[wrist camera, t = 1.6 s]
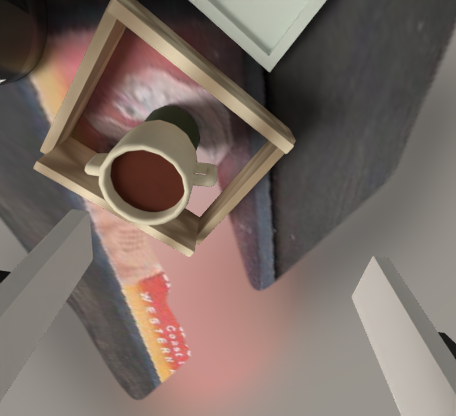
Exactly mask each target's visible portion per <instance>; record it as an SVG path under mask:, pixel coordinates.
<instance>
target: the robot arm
mask: <svg viewBox="0 0 456 416" xmlns="http://www.w3.org/2000/svg"><path fill="white" fill-rule="evenodd" d="M46 37H47V13H46V7H45V1H44V0H0V85H4V84H7V83H10V82H13V81H16V80H18V79H20V78H22V77H24V76H25V75H27V74H28V73H29V72H30V71H31V70H32V69H33V68H34V67H35V65H36V64H37V63H38V61H39V59H40V57H41V55H42V53H43V50H44V47H45V43H46ZM92 260H93V253H92V241H91V229H90V217H89V212H88V211H81V210H75V209H71V210H70V211H69V212H68V213H67V214H66V215H65V217H64V218H63V219H62V220H61V221H60V222H59V223H58V224H57V225H56V226H55V227H54V228H53V229H52V230H51V231H50V232H49V233H48V234H47V235H46V236H45V237H44V238H43V240H42V241H41V242H40V243H39V244H38V245H37V246H36V247H35V248H34V249H33V250H32V251H31V252H30V253H29V254H28V255H27V256H26V257H25V258H24V259H23V261H22V262H21V263H20V264H19V265H18V266H17V267H16V268H15V269H14V270H13V271H12V272H7V271H0V401H1V400H2V398H3V397H4V395H5V394H6V392H7V391H8V389H9V387H10V386H11V384H12V383H13V381H14V380H15V378H16V377H17V375H18V374H19V372H20V371H21V369H22V367H23V366H24V365H25V363H26V361H27V360H28V358H29V357H30V355H31V354H32V352H33V350H34V349H35V348H36V346H37V344H38V343H39V341H40V340H41V338H42V337H43V335H44V334H45V332H46V331H47V329H48V328H49V326H50V324H51V323H52V321H53V320H54V318H55V317H56V315H57V314H58V312H59V311H60V309H61V308H62V306H63V304H64V303H65V302H66V300H67V298H68V297H69V295H70V294H71V292H72V291H73V289H74V288H75V286H76V285H77V283H78V282H79V280H80V278H81V277H82V275H83V274H84V272H85V271H86V269H87V268H88V266H89V265H90V263H91V262H92ZM352 299H353V302H354V304H355V307H356V309H357V311H358V314H359V316H360V318H361V321H362V323H363V326H364V328H365V330H366V333H367V335H368V338H369V340H370V342H371V345H372V347H373V349H374V352H375V354H376V357H377V359H378V361H379V364H380V366H381V369H382V371H383V373H384V376H385V378H386V381H387V383H388V385H389V388H390V390H391V392H392V395H393V397H394V400H395V402H396V404H397V407H398V409H399V412H400V414H401V416H456V343H455V342H453V341H452V340H451V339H450V338H449V337H448V336H447V335H446V334H445V333H440V332H437V331H436V329H435V328H434V326H433V324H432V323H431V321H430V320H429V318H428V317H427V315H426V314H425V312H424V311H423V309H422V308H421V306H420V305H419V303H418V302H417V300H416V299H415V297H414V295H413V294H412V293H411V291H410V290H409V288H408V286H407V285H406V283H405V282H404V280H403V279H402V277H401V276H400V274H399V273H398V271H397V270H396V268H395V267H394V265H393V263H392V262H391V261H390V259H389V258H385V257H379V256H373V257H372V259H371V261H370V263H369V265H368V266H367V268H366V270H365V272H364V274H363V276H362V278H361V280H360V282H359V284H358V286H357V288H356V290H355V292H354V294H353V295H352Z"/></svg>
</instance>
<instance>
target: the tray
mask: <svg viewBox="0 0 456 416" xmlns="http://www.w3.org/2000/svg"><path fill="white" fill-rule="evenodd" d="M189 1H190V2H191V3H192V4H194V5H195V6H196V7H197V8H198V9H199V10H200V11H201V12H202V13H204V14H205V15H206V16H207V17H208V18H209V19H210V20H211V21H212V22H214V23H215V24H216V25H217V26H218V27H219V28H220V29H221V30H223V31H224V32H225V33H226V34H227V35H228V36H229V37H230V38H231V39H233V40H234V41H235V42H236V43H237V44H238V45H239V46H240V47H241V48H243V49H244V50H245V51H246V52H247V53H248V54H249V55H250V56H252V57H253V58H254V59H255V60H256V61H257V62H258V63H259V64H260V65H262V66H263V67H264V68H265V69H266V70H267V71H268V72H269V73H270V71H271V70H272V69H273V68H274V66H275V65H276V64H277V62H278V61H279V60H280V59H281V57H282V56H283V55H284V54H285V52H286V51H287V50H288V49H289V47H290V46H291V45H292V43H293V42H294V41H295V40H296V38H297V37H298V36H299V35H300V33H301V32H302V31H303V29H304V28H305V27H306V26H307V24H308V23H309V22H310V21H311V19H312V18H313V17H314V15H315V14H316V13H317V12H318V10H319V9H320V8H321V7H322V5H323V4H324V3H325V2H326V0H189Z"/></svg>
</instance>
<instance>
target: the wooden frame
mask: <svg viewBox="0 0 456 416" xmlns="http://www.w3.org/2000/svg"><path fill="white" fill-rule="evenodd" d="M126 27H128V28H129V29H130V30H132V31H133V32H134V33H135V34H137V35H138V36H139V37H140V38H142V39H143V40H144V41H145V42H147V43H148V44H149V45H150V46H152V47H153V48H154V49H155V50H157V51H158V52H159V53H160V54H162V55H163V56H164V57H165V58H167V59H168V60H169V61H170V62H172V63H173V64H174V65H175V66H177V67H178V68H179V69H180V70H182V71H183V72H184V73H185V74H187V75H188V76H189V77H190V78H192V79H193V80H194V81H195V82H197V83H198V84H199V85H200V86H202V87H203V88H204V89H205V90H207V91H208V92H209V93H210V94H212V95H213V96H214V97H215V98H217V99H218V100H219V101H220V102H222V103H223V104H224V105H225V106H227V107H228V108H229V109H230V110H232V111H233V112H234V113H235V114H237V115H238V116H239V117H240V118H242V119H243V120H244V121H245V122H247V123H248V124H249V125H250V126H252V127H253V128H254V129H255V130H257V131H258V132H259V133H260V134H262V135H263V136H264V137H265V138H267V139H268V141H267V142H266V143H265V144H264V145H263V147H262V148H261V149H260V150H259V151H258V152H257V153H256V154H255V156H254V157H253V158H252V159H251V160H250V161H249V162H248V163H247V165H246V166H245V167H244V168H243V169H242V170H241V171H240V173H239V174H238V175H237V176H236V177H235V178H234V179H233V180H232V182H231V183H230V184H229V185H228V186H227V187H226V188H225V190H224V191H223V192H222V193H221V194H220V195H219V196H218V197H217V199H216V200H215V201H214V202H213V203H212V204H211V205H210V207H209V208H208V209H207V210H206V211H205V212H204V213H203V215H202V216H201V217H198V216H197V215H195V214H193V213H192V212H190V211H189V210H187V209H185V208H184V209H183V211H182V212H181V213H180V214H179V215H178V216H177V217H176V218H174V219H172V220H170V221H168V222H166V223H164V224H158V225H142V224H138V223H135V222H132V221H129V220H127V219H126V218H124V217H123V216H121V215H120V214H118V213H117V212H115V211H114V210H113V208H112V207H111V206H110V205H109V204H108V202H107V201H106V200H105V199H104V196H103V194H102V191H101V189H100V186H99V176H93V175H89V174H87V173H86V172H85V167H86V164H87V163H88V162H89V161H90V160H91V159H92V158H93V157H94V156H95V155H96V154H98V153H96V152H95V151H93V150H91V149H90V148H88V147H87V146H85V145H83V144H82V143H80V142H79V141H77V140H75V139H74V138H72V137H71V134H72V132H73V130H74V128H75V126H76V124H77V122H78V121H79V119H80V117H81V115H82V113H83V111H84V109H85V107H86V105H87V103H88V101H89V99H90V97H91V95H92V93H93V91H94V89H95V87H96V85H97V83H98V81H99V80H100V78H101V76H102V74H103V72H104V70H105V68H106V66H107V64H108V62H109V60H110V58H111V56H112V54H113V52H114V50H115V48H116V46H117V44H118V42H119V40H120V39H121V37H122V35H123V33H124V31H125V29H126ZM295 142H296V140H295V138H294V136H293V134H292V132H291V131H290V129H289V128H288V127H287V126H286V125H284V124H283V123H282V122H281V121H280V120H279V119H277V118H276V117H275V116H274V115H273V114H271V113H270V112H269V111H268V110H267V109H265V108H264V107H263V106H262V105H261V104H259V103H258V102H257V101H256V100H255V99H254V98H252V97H251V96H250V95H249V94H248V93H246V92H245V91H244V90H243V89H242V88H240V87H239V86H238V85H237V84H236V83H235V82H233V81H232V80H231V79H230V78H229V77H227V76H226V75H225V74H224V73H223V72H221V71H220V70H219V69H218V68H217V67H215V66H214V65H213V64H212V63H211V62H210V61H208V60H207V59H206V58H205V57H204V56H202V55H201V54H200V53H199V52H198V51H196V50H195V49H194V48H193V47H192V46H190V45H189V44H188V43H187V42H186V41H185V40H183V39H182V38H181V37H180V36H179V35H177V34H176V33H175V32H174V31H173V30H171V29H170V28H169V27H168V26H167V25H166V24H164V23H163V22H162V21H161V20H160V19H158V18H157V17H156V16H155V15H154V14H152V13H151V12H150V11H149V10H148V9H146V8H145V7H144V6H143V5H142V4H141V3H139V2H138V1H137V0H110V2H109V4H108V6H107V8H106V11H105V13H104V15H103V17H102V19H101V21H100V23H99V26H98V28H97V30H96V32H95V34H94V36H93V38H92V40H91V43H90V45H89V47H88V49H87V51H86V53H85V55H84V58H83V60H82V62H81V64H80V66H79V68H78V70H77V73H76V75H75V77H74V79H73V81H72V83H71V85H70V87H69V90H68V92H67V94H66V96H65V98H64V100H63V102H62V105H61V107H60V109H59V111H58V113H57V115H56V117H55V119H54V122H53V124H52V126H51V128H50V130H49V132H48V134H47V137H46V139H45V141H44V143H43V145H42V147H41V149H40V151H41V152H43V153H44V154H46V155H44V156H43V157H42V158H40V159H39V160H38V161H37V162H36V164H35V166H34V168H33V169H35V170H37V171H38V172H40V173H42V174H44V175H45V176H47V177H49V178H51V179H52V180H54V181H56V182H58V183H59V184H61V185H63V186H65V187H67V188H68V189H70V190H72V191H74V192H75V193H77V194H79V195H81V196H82V197H84V198H86V199H88V200H89V201H91V202H93V203H95V204H96V205H98V206H100V207H102V208H103V209H105V210H107V211H109V212H111V213H112V214H114V215H116V216H118V217H119V218H121V219H123V220H125V221H126V222H128V223H130V224H132V225H133V226H135V227H137V228H139V229H140V230H142V231H144V232H146V233H148V234H149V235H151V236H153V237H155V238H156V239H158V240H160V241H162V242H163V243H165V244H167V245H169V246H171V247H172V248H174V249H176V250H177V251H179V252H181V253H183V254H184V255H186V256H188V257H190V256H191V255H192V254H193V253H194V251H195V245H196V243H197V244H198V245H199V244H200V243H201V242H202V241H203V240H204V239H205V238H206V237H207V236H208V235H209V234H210V232H211V231H212V230H213V229H214V228H215V227H216V226H217V225H218V224H219V223H220V222H221V221H222V220H223V219H224V218H225V216H226V215H227V214H228V213H229V212H230V211H231V210H232V209H233V208H234V207H235V206H236V205H237V204H238V203H239V202H240V200H241V199H242V198H243V197H244V196H245V195H246V194H247V193H248V192H249V191H250V190H251V189H252V188H253V187H254V186H255V184H256V183H257V182H258V181H259V180H260V179H261V178H262V177H263V176H264V175H265V174H266V173H267V172H268V171H269V170H270V168H271V167H272V166H273V165H274V164H275V163H276V162H277V161H278V160H279V159H280V158H281V157H282V156H283V155H284V154H285V153H286V154H287V153H288V152H289V151H290V150H291V149H292V148H293V147H294V145H293V144H294V143H295Z"/></svg>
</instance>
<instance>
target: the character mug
mask: <svg viewBox="0 0 456 416" xmlns="http://www.w3.org/2000/svg"><path fill="white" fill-rule="evenodd" d="M199 140H200V136H199V131H198V126H197V124H196V123H195V121H194V120H193V118H192V117H191V115H190V114H188V113H186V112H185V111H183V110H182V109H180V108H178V107H169V106H164V107H162V108H159V109H157V110H154V111H153V112H152V113H151V114H150V115H149V116H148V118H147V119H146V120H145V122H143V123H141V124H139V125H138V126H136V127H134V128H133V129H131V130H129V131H128V133H127V134H126V135H125V136H124V137H123V138H122V139H121V140H120V141H119V142H118V144H117V145H116V146H115V147H114V148H113V149H112V150H111V151H110V153H98V154H96V155H95V156H94V157H93V158H92V159H91V160H90V161H89V162H88V163H87V164H86V167H85V172H86V173H87V174H89V175H93V176H99V186H100V189H101V191H102V194H103V196H104V199H105V200H106V201H107V202H108V204H109V205H110V206H111V207H112V208H113V210H114V211H115V212H117V213H118V214H120V215H121V216H123V217H124V218H126V219H127V220H129V221H132V222H135V223H138V224H142V225H158V224H164V223H166V222H168V221H170V220H172V219H174V218H176V217H177V216H178V215H179V214H180V213H181V212H182V211H183V209H184V208H185V207H186V206H187V204H188V201H189V197H190V194H191V190H192V186H193V185H197V186H207V187H208V186H214V184H215V183H216V181H217V174H218V170H217V167H216V165H214V164H209V163H198V162H197V156H196V150H197V147H198V143H199ZM195 173H203V174H206V175H201V174H195Z"/></svg>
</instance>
